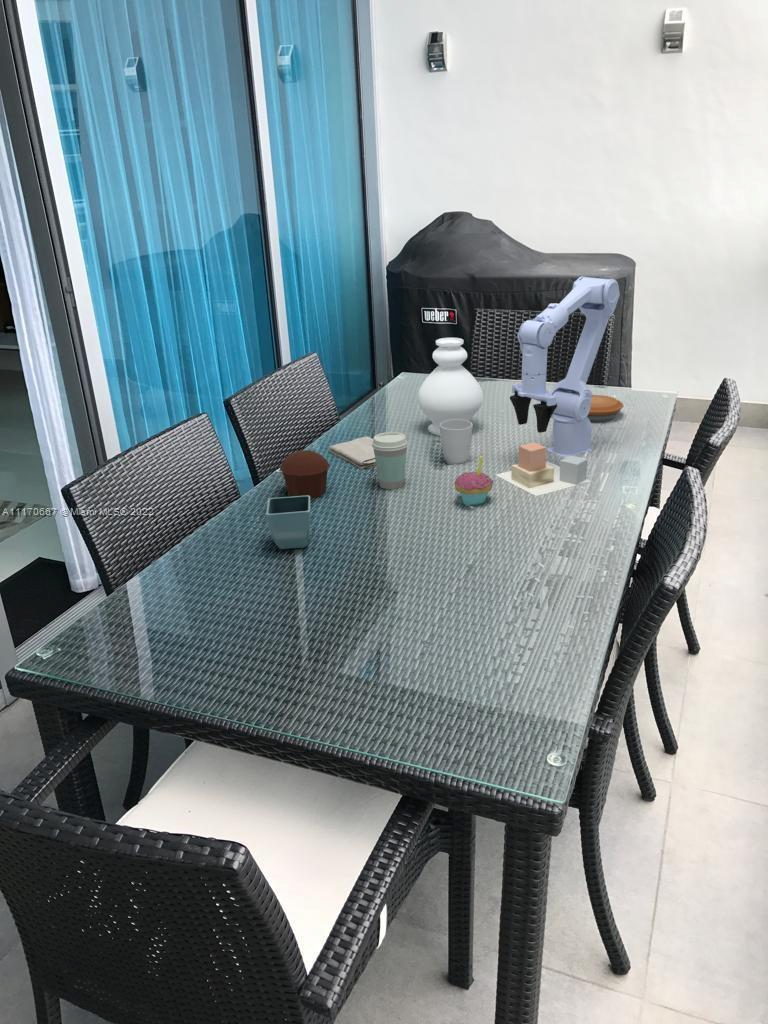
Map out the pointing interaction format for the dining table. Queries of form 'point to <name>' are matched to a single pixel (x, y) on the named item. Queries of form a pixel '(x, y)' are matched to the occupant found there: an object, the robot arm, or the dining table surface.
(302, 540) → the flower pot
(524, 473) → the maple block
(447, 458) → the cup
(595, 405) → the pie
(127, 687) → the dining table surface
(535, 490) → the board
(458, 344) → the decorative vase
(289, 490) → the muffin
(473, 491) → the cupcake
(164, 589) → the dining table surface
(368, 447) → the washcloth
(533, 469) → the terracotta block
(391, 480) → the coffee cup
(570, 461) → the grey block
